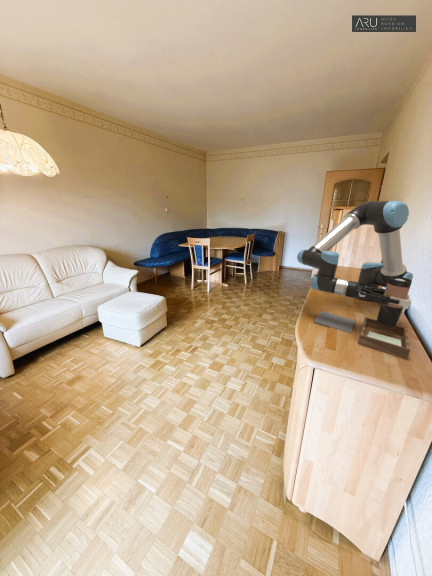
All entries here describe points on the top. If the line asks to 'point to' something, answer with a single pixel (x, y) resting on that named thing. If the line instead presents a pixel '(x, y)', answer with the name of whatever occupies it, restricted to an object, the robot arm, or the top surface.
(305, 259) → the robot arm
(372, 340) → the brown wooden tray
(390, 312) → the travel mug
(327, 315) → the charcoal mat
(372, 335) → the top offcut
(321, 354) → the top surface
